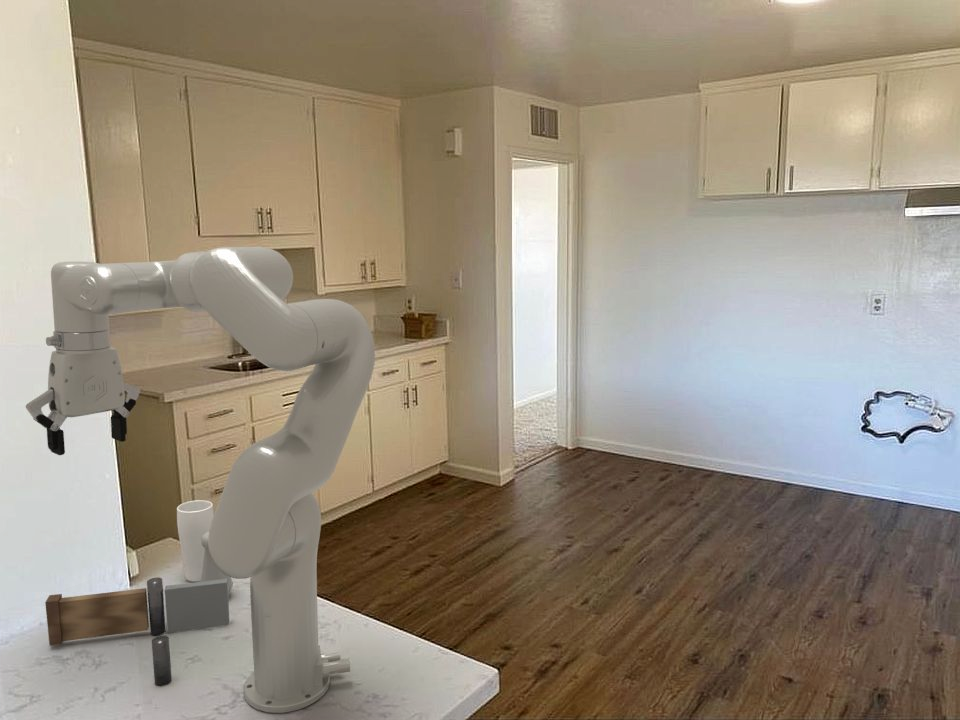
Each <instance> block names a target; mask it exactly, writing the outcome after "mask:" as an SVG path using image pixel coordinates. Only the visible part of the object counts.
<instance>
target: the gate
mask: <svg viewBox="0 0 960 720" xmlns="http://www.w3.org/2000/svg"><path fill="white" fill-rule="evenodd" d="M45 612H46V624H47V633H48V642H49V643H48V644H49V647H50V646H51V647H52V646H58V645H62V644H63V643H64V642H70V641H75V640H76V641H77V640H85V639H91V638H101V637H107V636H115V635H122V634H129V633H137V632H147V631H148V630H149V628H150V619H149V605H148V591H147V587H143V588H135V589H127V590H126V589H125V590H119V591H111V592H110V591H109V592H101V593H93V594H92V593H91V594H85V595H76V596H75V595H74V596H67V597H63V596H62V593H58V594H50V595H48V597H47V599H46V600H45Z"/></svg>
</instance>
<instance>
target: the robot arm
mask: <svg viewBox="0 0 960 720" xmlns="http://www.w3.org/2000/svg"><path fill="white" fill-rule="evenodd" d="M50 280H51V281H50V282H51V294H52V295H51V297H52V299H51V300H52V309H53V313H52V314H53V326H54V331H52V332H53V333H52V336H48V337H46V338H45V344H46V346H48V347H54V349H55V350H52V351H51V354H50V360H49V366H48V378H47V390H46V391H45V392H44V393H41V394H40V395H39V396H37V397H35V398H34V399H32V400H30V401H29V402H28V403H26V405H25V409H26V410H27V412H28V413H29V414H30V416H31V417H32V419H33V420H34V421H35V422H37V423H38V424H40V426H42V427H43V428H45V429H46V439H47V441H46V442H47V448H48V449H49V450H50V452H51V453H54V454H56V455H57V456H63V455H65V453H66V450H65V449H66V448H65V436H64V435H65V433H64V430H63V429H61V426H62V425H63V424H64V422H65V421H66V420H67V418H77V417H82V416H89V415H94V414H101V413H105V412H110V411H111V413H113V414H111V416H110V427H111V428H110V430H111V431H110V432H111V438H112V439H113V440H116V441H118V442H121V443H123V442H126V440H127V439H126V437H127V432H128V427H127V426H128V425H127V418H128V417H129V416H130V413H131V411H132V409H134V407H135V405H136V404H137V399H138V398H139V395H140V393H141V388H140V387H139V386H138V387H137V386H135V385H133V384H129V383H126V382H124V379H123V371H122V366H121V362H120V358H119V355H118V351H117V348H116V347H112V346H111V338H110V337H111V334H110V317H109V315H116V314H123V313H125V314H126V313H131V312H138V311H149V310H158V309H159V310H161V309H169V308H170V309H171V308H173V309H174V308H184V309H185V310H187V311H189V312H195V313H199V312H206V313H207V314H208V315H209V316H210V317H211V318H212V319H213V320H214V321H215V322H216V323H218V325H219V326H220V327H221V328H223V330H224V331H226V332H227V333H228V334H229V335H230V336H231V337H232V338H233V339H235V341H237V343H238V344H240V346H242V347H243V349H245V350H246V351H247V352H248V353H249V354H250V355H251V356H253V358H254V359H256V360H257V362H260V363H261V364H263V365H264V366H266V367H268V368H269V369H273V370H275V371H280V372H281V371H282V372H289V371H290V372H291V371H297V370H300V369H303V368H306V367H310V366H313V369H312V370H311V373H310V374H309V375H308V376H307V378H306V379H305V381H304V382H303V384H302V386H301V387H300V389H299V390H298V393H297V394H296V397H295V400H294V402H293V405H292V408H291V410H290V412H289V415H288V418H287V420H286V422H285V424H284V425H283V426H282V428H281V429H280V430H278V431H277V432H276V433H273V434H271V435H269V436H267V437H265V438H262V439H260V440H258V441H255V442H254V443H252V444H251V445H249V446H248V447H247V448H246V449H244V450H243V451H242V452H241V453H240V454H239V456H238V457H236V460H235V461H234V463H233V465H232V466H231V469H230V471H229V473H228V476H227V478H226V482H225V484H224V487H223V490H222V493H221V496H220V498H219V499H218V500H219V501H218V503H217V506H216V509H215V512H214V517H213V520H212V523H211V526H210V530H209V537H208V547H209V553H210V556H211V559H212V561H213V563H214V565H215V566H216V567H217V569H218V570H219V571H220V572H222V573H223V574H224V575H226V576H229V577H231V579H236V580H237V579H239V580H242V579H248V578H249V579H250V580H249V581H250V582H249V583H250V584H249V585H250V589H249V590H250V591H249V592H250V595H249V596H250V613H251V614H250V616H251V636H252V638H251V639H252V657H253V671H252V672H251V674H249V676H248V677H247V678H246V680H245V682H244V684H243V694H244V695H243V696H244V699H245V701H246V703H248V704H249V705H250V706H251V707H252V708H254V709H256V710H258V711H262V712H266V713H276V714H277V713H280V714H281V713H290V712H293V711H297V710H301V709H304V708H306V707H308V706H310V705H312V704H314V703H315V702H317V701H319V700H320V699H321V698H323V696H324V695H325V694H326V692H327V691H328V690H329V686H330V684H331V677H330V675H334V674H343V673H350V672H351V660H350V658H343V659H341V652H335V653H330V654H325V653H321V651H322V650H321V645H319V622H318V621H319V619H318V618H319V617H318V594H317V593H318V578H317V575H318V572H317V570H318V569H317V560H318V549H319V543H320V535H321V530H322V514H321V508H320V507H321V506H320V505H319V502H318V499H317V498H316V497H315V495H314V494H313V493H315V492H316V491H317V490H319V489H321V488H322V487H323V486H325V484H326V483H327V482H328V481H329V480H331V477H332V476H333V474H334V472H335V469H336V466H337V464H338V462H339V459H340V457H341V454H342V453H343V449H344V447H345V444H346V441H347V439H348V437H349V434H350V432H351V430H352V426H353V423H354V421H355V418H356V416H357V413H358V411H359V409H360V407H361V404H362V402H363V400H364V397H365V395H366V393H367V391H368V387H369V385H370V383H371V380H372V376H373V372H374V368H375V361H376V360H375V359H376V347H375V342H374V336H373V334H372V330H371V329H370V327H369V325H368V323H367V321H366V319H365V318H364V316H363V315H362V313H361V312H360V311H359V310H357V309H356V308H355V307H354V306H353V305H352V304H350V303H348V302H345V301H343V300H340V299H333V298H318V299H310V300H305V301H303V300H302V301H297V302H290V303H286V302H285V301H284V300H285V298H286V297H287V296H288V295H289V292H290V291H291V290H292V286H293V283H294V272H293V269H292V266H291V264H290V262H289V261H288V260H287V258H286V257H284V256H283V254H281V253H280V252H278V251H277V250H275V249H272V248H270V247H269V248H268V247H264V246H223V247H222V246H221V247H215V248H212V249H209V250H206V251H194V252H191V251H190V252H186V253H183V254H182V255H179V256H178V258H177V259H172V260H161V261H160V260H159V261H158V260H157V261H144V262H143V261H142V262H141V261H140V262H139V261H134V262H133V261H132V262H130V261H129V262H115V263H114V262H113V263H98V262H94V261H61V262H57V263H54V265H52V267H51V269H50ZM125 392H127V394H126V393H125ZM125 394H126V395H125ZM125 396H126V397H125ZM47 404H48V408H49V410H50V412H49V414H48V415H47V416H46V415H45V414H44V413H43V411H42V408H43V407H44V406H46V405H47Z"/></svg>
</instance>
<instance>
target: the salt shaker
mask: <svg viewBox="0 0 960 720" xmlns="http://www.w3.org/2000/svg"><path fill="white" fill-rule="evenodd" d="M208 537H209V532H206V533H205V534H204V535H203V536H202V539H201V543H202V546H203V547H204V548H205V552H204V560H203V568H202V575H201V581H200V582H203V581H211V580H220V579H227V585H228V597H229V596H230V594H231V591H232V588H233V584H234V582H233V578H232V577H229V576H226V575H224V574H223V573H222V572H220V571H219V570H218V569H217V567H216V566H215V565H214V563H213V561H212V559H211V556H210V553H209V547H208Z"/></svg>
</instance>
